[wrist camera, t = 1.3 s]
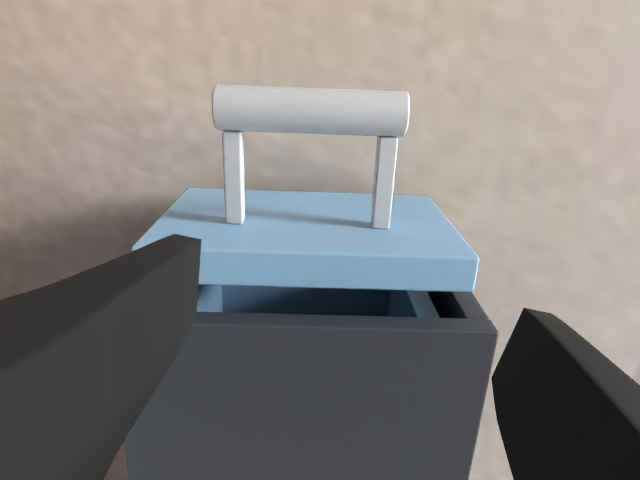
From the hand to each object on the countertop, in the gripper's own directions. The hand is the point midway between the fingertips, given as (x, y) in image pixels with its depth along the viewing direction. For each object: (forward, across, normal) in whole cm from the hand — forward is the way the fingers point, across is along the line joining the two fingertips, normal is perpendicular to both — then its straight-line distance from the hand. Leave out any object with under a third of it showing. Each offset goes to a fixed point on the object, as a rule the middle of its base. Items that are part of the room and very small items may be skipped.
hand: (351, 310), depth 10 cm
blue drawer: (+10, +1, +5) cm, 11 cm away
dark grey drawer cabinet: (+10, +1, +10) cm, 14 cm away
